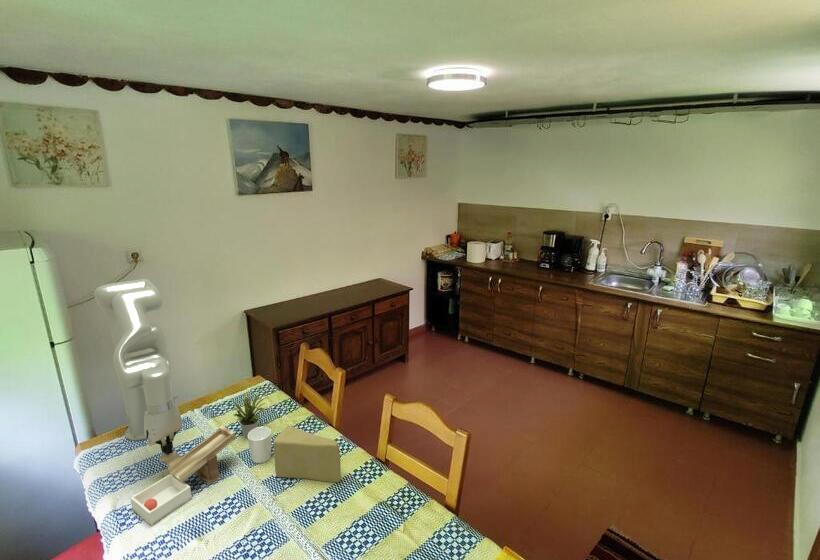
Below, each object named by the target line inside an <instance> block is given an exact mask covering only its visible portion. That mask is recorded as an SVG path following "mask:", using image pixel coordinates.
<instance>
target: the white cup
mask: <svg viewBox="0 0 820 560" xmlns="http://www.w3.org/2000/svg"><path fill="white" fill-rule="evenodd" d="M247 441H248V447H249V453H250V457H251V461H252V462H253V463H256V464H261V463H266V462H267V461H268V460H269V459H271V457H272V429H271V428H270V427H268V426H258V427H257V428H254V429H252V430H251V431H250V432H249V433H248V438H247Z"/></svg>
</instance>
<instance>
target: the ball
mask: <svg viewBox="0 0 820 560" xmlns="http://www.w3.org/2000/svg"><path fill="white" fill-rule="evenodd" d="M144 506H145V507H146V508H147V509H148V510H150V511H151V510H153V509H155V508H156V507H157V501H156V500H155V499H149V500H147V501H146V502H145V504H144Z"/></svg>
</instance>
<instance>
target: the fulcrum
mask: <svg viewBox="0 0 820 560" xmlns="http://www.w3.org/2000/svg"><path fill="white" fill-rule="evenodd" d="M217 455H218V454H217ZM217 455H214V456H212V457H211V458H209V459H207V460H208V462H207V463H206V464H204V465H203V466H202V467H201V468H199V469H198V470H197V471H196V472H194V473H193V474H194V475H195V476H197V477H199V478H200V479H201V480H203V481H204V482H206V483H207V484H209V485H212V484H213V483H215V482H216V481H218V480H219V479H221V478H222V474H221V473H220V472H219V471H220V470H219V465H218V464H219V463H218V456H217Z"/></svg>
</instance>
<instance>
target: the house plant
mask: <svg viewBox="0 0 820 560" xmlns="http://www.w3.org/2000/svg"><path fill="white" fill-rule="evenodd" d="M259 394H260V391H259V392H257V394H256V395H255V397H254V399H253V402H252V401H251V400H252V398H250V396H249V394H245V393H244V394H243V406H244V410H243V409H242V408H241V406H239V405H238V404H236V403H234V402H229V403H230V404H232V405H233V406H235V407H236V408H234V410H235V411H236V412H237V413H233V414H232V415H233V416H234V417H237V419H236V422H238V421H239V424H240V428H241V433H242V434H243V437H244V438H246V439H248V433H249V432H250V431H251V430H252V429H254V428H257V427H259V424H260V423H259V422H260V418H259V415H260V413H261V412H262V411H264V410H265V409H268V407H262V406H263V405H266V404H267V403H266V402H265V403H262V401H264V400H266V399H269V396H268V397H264V398H261V399H259V397H260V395H259ZM258 399H259V400H258ZM251 402H252V403H251ZM260 403H261V404H260ZM259 404H260V405H259Z"/></svg>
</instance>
